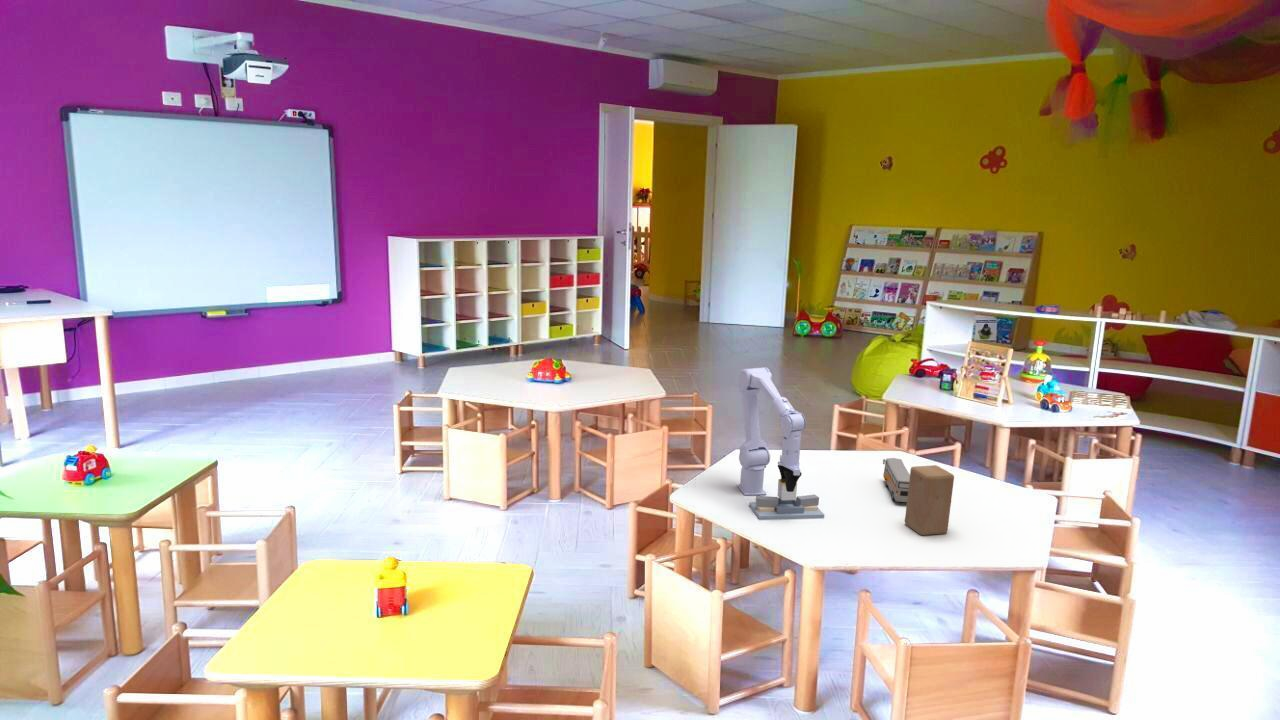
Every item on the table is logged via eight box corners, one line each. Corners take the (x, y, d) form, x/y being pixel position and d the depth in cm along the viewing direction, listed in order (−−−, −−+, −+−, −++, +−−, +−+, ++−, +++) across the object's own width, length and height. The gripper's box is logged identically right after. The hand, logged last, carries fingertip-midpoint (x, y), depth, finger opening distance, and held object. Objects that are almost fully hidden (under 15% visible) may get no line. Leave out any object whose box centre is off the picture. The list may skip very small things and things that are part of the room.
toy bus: (899, 481, 315) (902, 456, 312) (913, 507, 290) (916, 480, 288) (880, 480, 315) (883, 455, 313) (893, 506, 290) (896, 478, 288)
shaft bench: (749, 505, 285) (750, 491, 284) (811, 504, 289) (812, 489, 288) (759, 519, 274) (760, 504, 273) (824, 517, 277) (825, 503, 276)
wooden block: (920, 536, 266) (927, 476, 262) (903, 524, 275) (909, 465, 271) (948, 534, 268) (955, 474, 264) (929, 521, 278) (936, 464, 274)
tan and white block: (791, 495, 283) (792, 478, 281) (795, 499, 279) (797, 482, 278) (777, 495, 282) (778, 478, 281) (781, 500, 278) (782, 483, 277)
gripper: (772, 442, 283) (769, 481, 286) (786, 456, 269) (783, 497, 272) (792, 442, 284) (789, 480, 287) (807, 456, 270) (804, 496, 273)
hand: (787, 488), depth 280 cm, fingers closed on tan and white block, 4 cm apart
